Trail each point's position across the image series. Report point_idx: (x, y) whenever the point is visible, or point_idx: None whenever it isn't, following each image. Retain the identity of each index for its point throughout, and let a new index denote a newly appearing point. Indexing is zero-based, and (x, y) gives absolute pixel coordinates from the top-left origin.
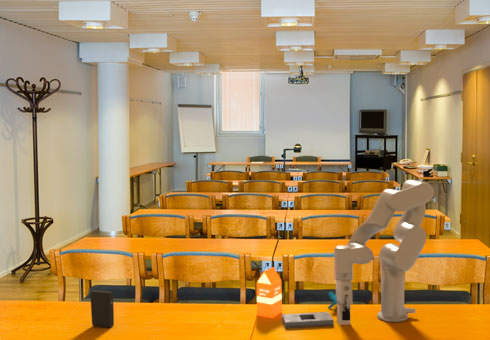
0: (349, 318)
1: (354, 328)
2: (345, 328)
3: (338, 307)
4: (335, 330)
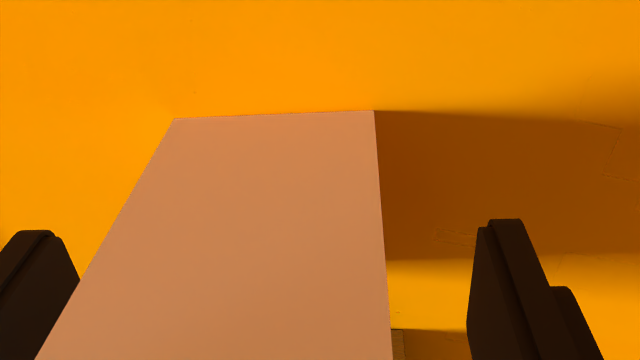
0: (524, 248)
1: (612, 86)
2: (554, 220)
3: None
4: None
